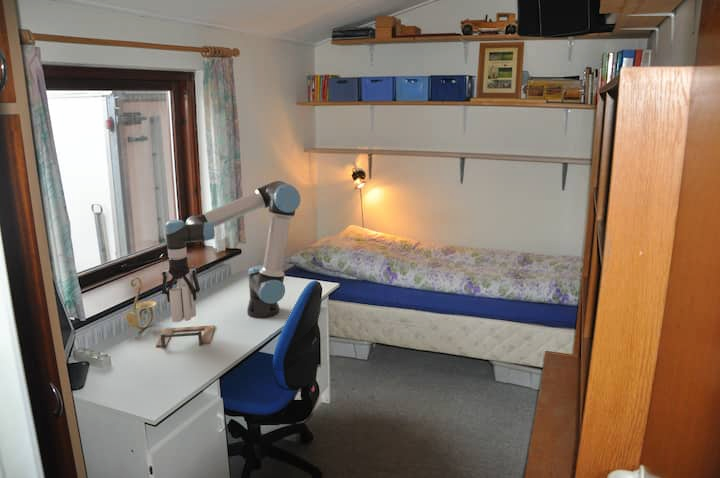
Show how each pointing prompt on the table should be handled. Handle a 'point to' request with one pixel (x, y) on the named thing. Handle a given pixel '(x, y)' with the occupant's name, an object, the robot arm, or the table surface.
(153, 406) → the table surface
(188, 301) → the candle
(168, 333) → the brown wooden stand
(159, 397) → the table surface
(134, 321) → the wall sconce
